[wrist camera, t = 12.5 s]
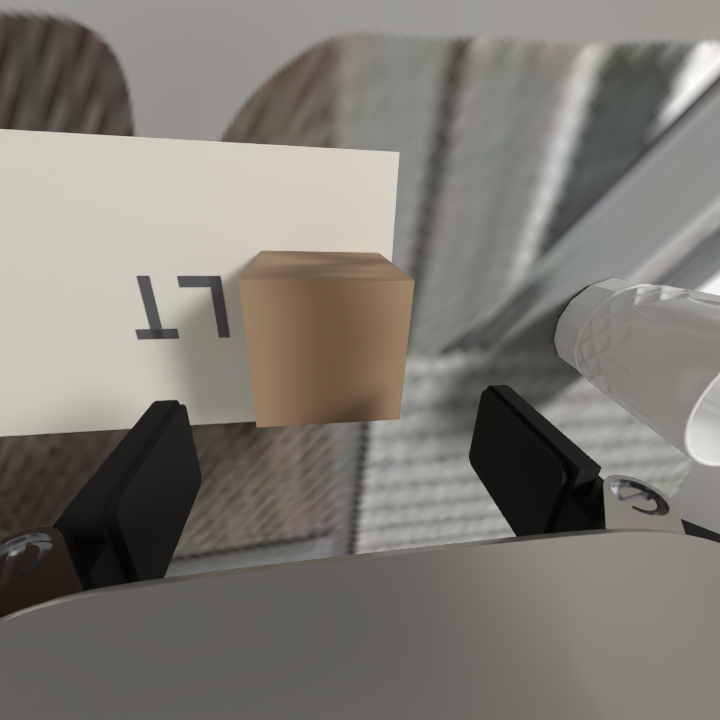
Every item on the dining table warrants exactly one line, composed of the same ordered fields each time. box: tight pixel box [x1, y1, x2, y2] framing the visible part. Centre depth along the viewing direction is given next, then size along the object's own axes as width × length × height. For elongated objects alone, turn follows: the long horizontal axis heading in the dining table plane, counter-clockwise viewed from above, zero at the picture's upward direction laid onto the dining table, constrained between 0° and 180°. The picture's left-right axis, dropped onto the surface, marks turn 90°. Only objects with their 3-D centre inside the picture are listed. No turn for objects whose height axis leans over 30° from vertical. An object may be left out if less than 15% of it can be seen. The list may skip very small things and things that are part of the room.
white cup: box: [554, 278, 720, 466], centre depth 19 cm, size 8×8×10 cm
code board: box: [0, 129, 399, 437], centre depth 19 cm, size 24×16×1 cm, turn 88°
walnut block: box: [239, 251, 415, 427], centre depth 17 cm, size 6×6×7 cm
